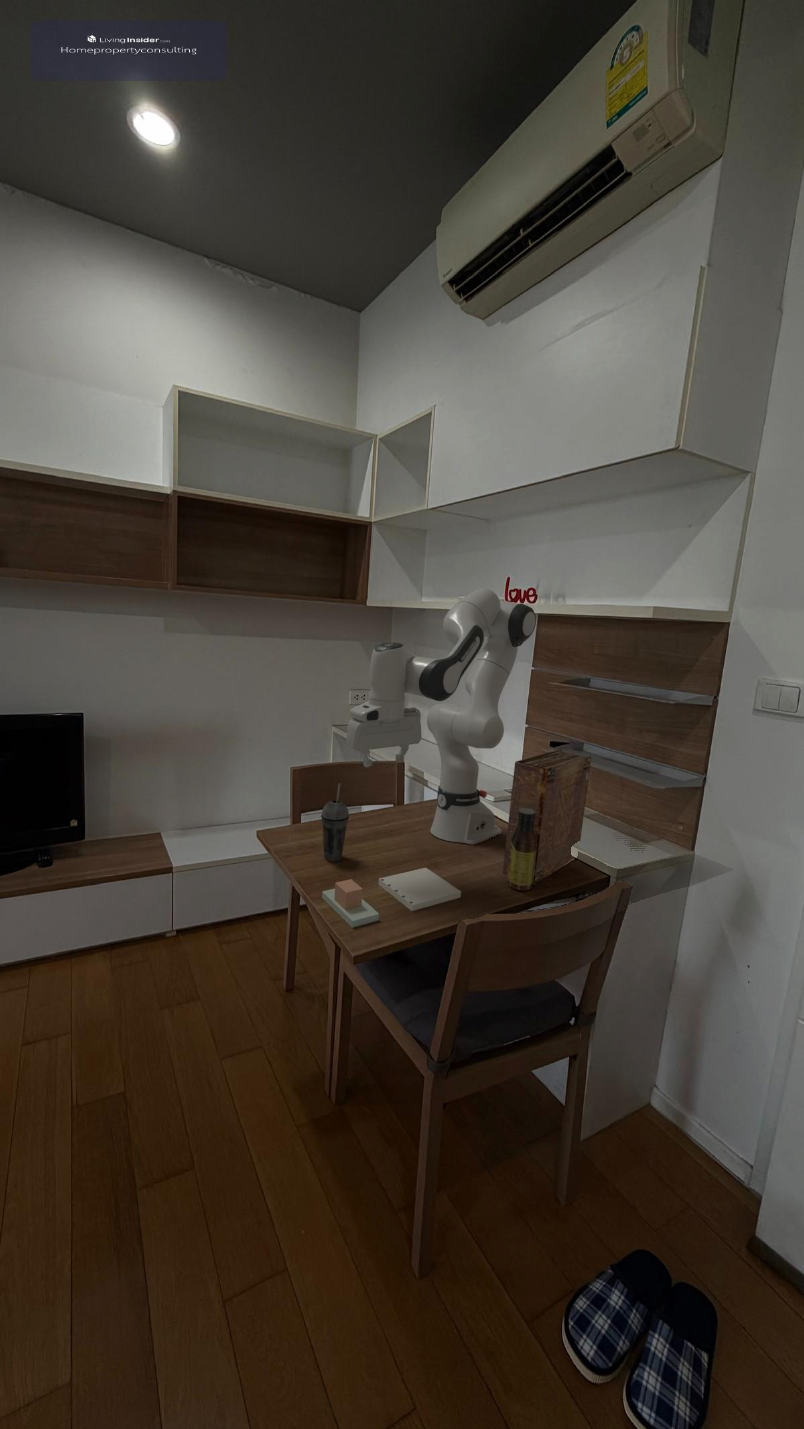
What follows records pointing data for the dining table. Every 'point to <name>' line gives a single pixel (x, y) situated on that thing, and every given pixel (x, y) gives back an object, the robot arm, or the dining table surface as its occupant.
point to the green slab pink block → (350, 903)
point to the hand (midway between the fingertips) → (384, 764)
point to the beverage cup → (334, 828)
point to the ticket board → (419, 888)
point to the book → (550, 806)
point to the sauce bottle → (522, 852)
